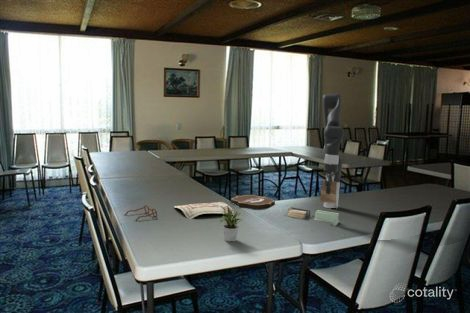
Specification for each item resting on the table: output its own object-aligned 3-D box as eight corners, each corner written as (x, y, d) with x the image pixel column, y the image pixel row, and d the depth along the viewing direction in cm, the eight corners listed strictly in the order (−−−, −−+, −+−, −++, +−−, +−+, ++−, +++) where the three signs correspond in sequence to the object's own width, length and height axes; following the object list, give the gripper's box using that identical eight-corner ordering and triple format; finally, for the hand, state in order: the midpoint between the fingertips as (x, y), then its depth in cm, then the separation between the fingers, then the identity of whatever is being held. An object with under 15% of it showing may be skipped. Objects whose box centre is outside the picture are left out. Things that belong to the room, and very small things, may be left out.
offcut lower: (290, 214, 218) (290, 211, 218) (305, 216, 214) (305, 214, 214) (287, 216, 214) (287, 213, 213) (303, 218, 210) (303, 216, 210)
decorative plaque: (258, 207, 224) (220, 198, 243) (257, 212, 225) (220, 203, 244) (285, 200, 248) (248, 192, 266) (284, 205, 248) (248, 197, 267)
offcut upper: (290, 211, 217) (290, 209, 217) (306, 214, 214) (306, 211, 214) (288, 213, 213) (288, 211, 213) (304, 216, 209) (304, 213, 209)
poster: (216, 209, 239) (171, 211, 225) (217, 200, 238) (171, 200, 224) (237, 218, 214) (187, 220, 200) (238, 207, 214) (188, 208, 200)
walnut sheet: (321, 201, 212) (322, 180, 211) (335, 203, 209) (337, 181, 208) (320, 201, 211) (321, 180, 209) (334, 203, 207) (336, 182, 206)
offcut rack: (289, 213, 225) (289, 206, 224) (312, 217, 218) (312, 210, 218) (282, 218, 214) (283, 210, 213) (306, 222, 208) (307, 214, 207)
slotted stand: (317, 218, 217) (318, 209, 217) (338, 222, 212) (339, 212, 211) (313, 221, 210) (314, 212, 209) (335, 225, 205) (336, 215, 204)
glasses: (157, 218, 200) (158, 209, 200) (135, 222, 192) (135, 212, 191) (145, 212, 210) (145, 204, 210) (123, 216, 201) (123, 206, 201)
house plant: (205, 239, 170) (207, 204, 169) (223, 232, 182) (225, 199, 180) (231, 247, 162) (233, 210, 161) (248, 239, 174) (250, 204, 172)
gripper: (327, 161, 215) (324, 190, 217) (321, 162, 203) (318, 194, 205) (340, 162, 212) (337, 192, 214) (335, 164, 200) (332, 196, 201)
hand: (328, 193), depth 209 cm, fingers closed on walnut sheet, 1 cm apart
